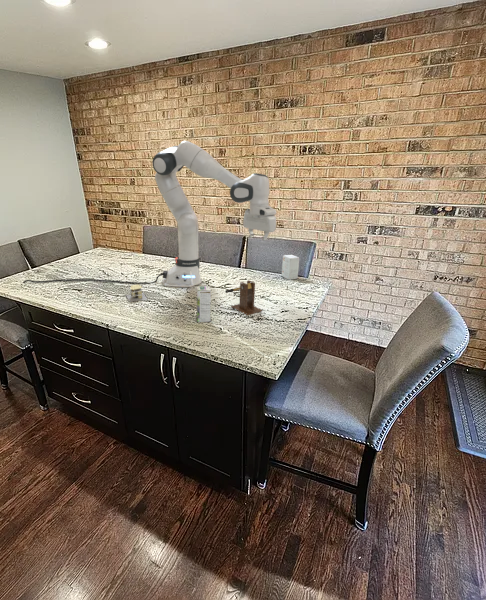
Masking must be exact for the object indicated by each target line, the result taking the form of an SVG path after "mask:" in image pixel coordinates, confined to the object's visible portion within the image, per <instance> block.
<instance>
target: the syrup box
mask: <svg viewBox="0 0 486 600" xmlns="http://www.w3.org/2000/svg"><path fill="white" fill-rule="evenodd" d="M211 303H212V289H211V286H209V285H200V286H198V285H196V321H197V323H206V322H209V323H210V322H211V317H212V315H211V313H212V311H211V307H212V306H211Z"/></svg>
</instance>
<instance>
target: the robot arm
mask: <svg viewBox="0 0 486 600" xmlns="http://www.w3.org/2000/svg"><path fill="white" fill-rule="evenodd" d="M152 167H153V170H154V172H155V175H154V180H155V183H156V186H157V188H158V191H159V193H160V195H161V197H162V198H163V201H164V203H165V204H166V206H167V208H168V210H169V211H170V212H171V214H172V216H173V218H174V219H175V221H176V222H177V223H176V224H177V241H178V242H177V243H178V257H177V256H176V257H174V261H175V264H174V265H173V266H172V267H170V269H169V270H163V271H162V273H160V274H159V275H157V276H156V279H155V280H154V281H151V282H148V281H147V282H146V281H145V282H144V281H143V282H141V281H140V282H138V281H137V282H136V281H123V280H111V279H110V280H109V279H94V278H93V279H91V278H69V279H68V278H65V279H49V280H31V279H25V280H24V281H23V282H22V284H25V283H27V282H30V283H37V284H38V283H49V282H51V283H52V282H68V281H69V282H70V281H87V282H88V281H93V282H106V283H107V282H108V283H120V284H132V285H149V284H155V283H157V282H158V279H159V277H162V278H163V279H162V286H164V287H176V288H192V287H194V286H198V285H200V284H202V283H203V281H202V277H201V271H200V267H201V260H200V256H199V255H200V254H199V253H200V252H199V251H200V250H199V219H198V217H197V214H196V213H195V211H194V209H193V207H192V205H191V203H190V201H189V199H188V197H187V196H186V194H185V191H184V190H183V187H182V185H181V184H180V181H179V180H178V177H177V173H178V172H180V171H181V170H182V169H183V167H185V168H187V169H188V170H190V171H191V172H192V173H193V174H195V175H197V176H199V177H201V178H205V179H213V180H216V181H218V182H221V183H222V184H223V185H225V186H227V187H228V188H229V197H230V198H231V200H232V201H233V202H235V203H238V204H243V203H246V202H249V208H246V210H245V211H244V215H243V220H242V223H243V224H242V225H243V228H246V229H247V231H248V233H249V238H251V239H254V238H255V233H254V230H256V231H261V232H263V234H264V235H263V236H262V238H261V239H262V241H265V242H266V241H268V237H269V235H270V233H273V232H275V231H276V229H277V217H276V215H277V210H276V209H275V208H273V207H271V206H270V201H269V196H270V179H269V177H268V175H266V174H264V173H257V172H255V173H254V172H253V173H252V174H251V175H250V176H248V177H246V178H241V177H238V176H237V175H236V174H234V173H232V172H231V171H229V170H228V169H227V168H225V167H224V166H223V165H222V164H221V163H220V162H219V161H217V159H215V157H213V156H212V155H211V154H210V153H209V152H208V151H206V150H205V149H203V148H202V147H201V146H199V145H197V144H195V143H193V142H192V141H189V140H183V141H181V142H180V143H179V144H178V145H173V146H170V147H167V148H165V149H163V150H162V151H159V152H157V153H156V154H155V155H154V156H153V158H152Z"/></svg>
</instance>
